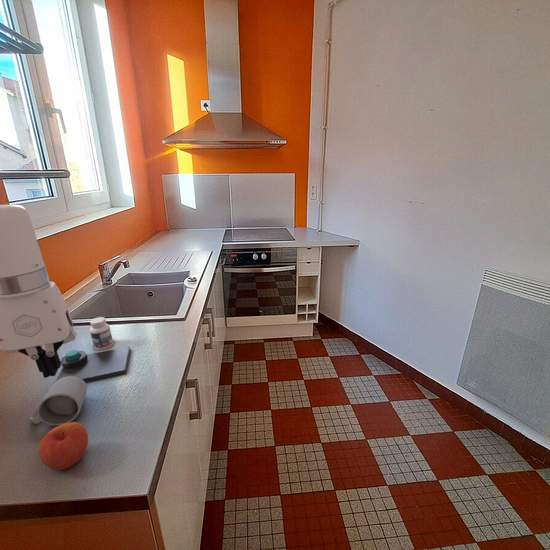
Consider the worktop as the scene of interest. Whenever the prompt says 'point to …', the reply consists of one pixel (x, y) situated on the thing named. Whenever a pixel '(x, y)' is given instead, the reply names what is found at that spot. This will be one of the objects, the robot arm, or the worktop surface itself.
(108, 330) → the pill bottle
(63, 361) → the scale
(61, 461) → the apple
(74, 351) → the tare button
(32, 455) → the worktop surface
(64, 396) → the ceramic mug
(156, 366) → the worktop surface
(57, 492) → the worktop surface
